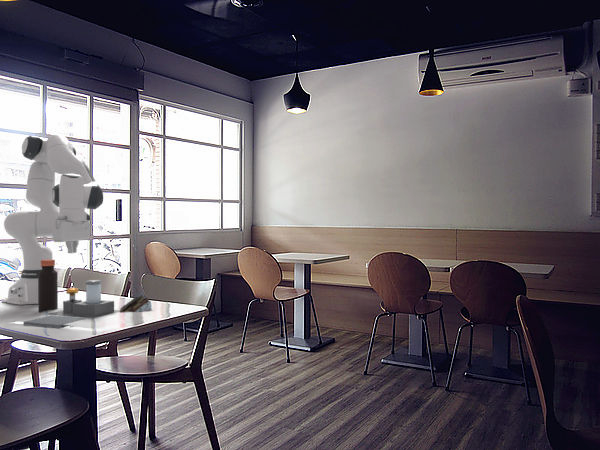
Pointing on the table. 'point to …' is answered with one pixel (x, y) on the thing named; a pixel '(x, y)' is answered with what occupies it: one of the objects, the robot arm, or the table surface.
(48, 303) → the bottle
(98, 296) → the block
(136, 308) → the chocolate cake
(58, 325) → the mat
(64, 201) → the robot arm
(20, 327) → the table surface
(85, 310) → the block
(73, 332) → the table surface
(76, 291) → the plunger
